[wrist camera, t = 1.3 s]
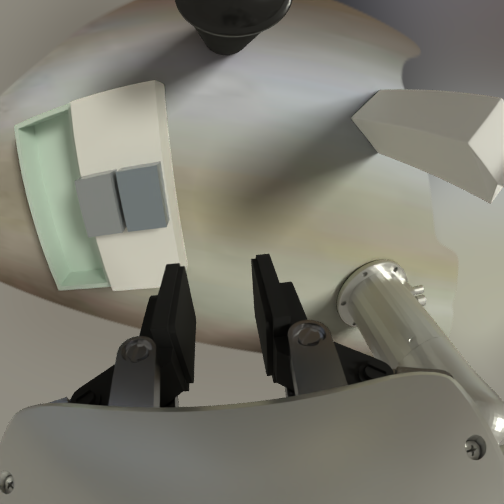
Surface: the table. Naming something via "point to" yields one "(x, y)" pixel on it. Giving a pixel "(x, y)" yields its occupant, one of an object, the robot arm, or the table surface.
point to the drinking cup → (231, 20)
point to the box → (58, 199)
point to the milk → (440, 135)
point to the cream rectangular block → (124, 155)
